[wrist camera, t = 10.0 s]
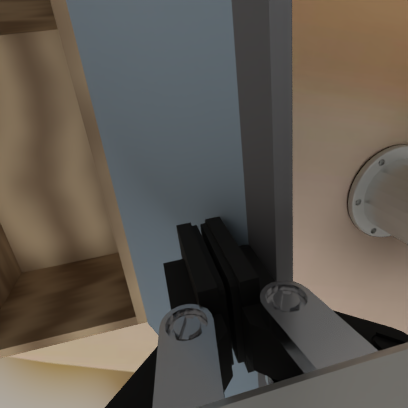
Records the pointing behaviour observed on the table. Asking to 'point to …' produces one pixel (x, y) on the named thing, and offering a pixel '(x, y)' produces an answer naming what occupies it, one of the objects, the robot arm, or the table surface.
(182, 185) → the lid flap
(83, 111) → the wooden box
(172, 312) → the robot arm
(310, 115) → the table surface
